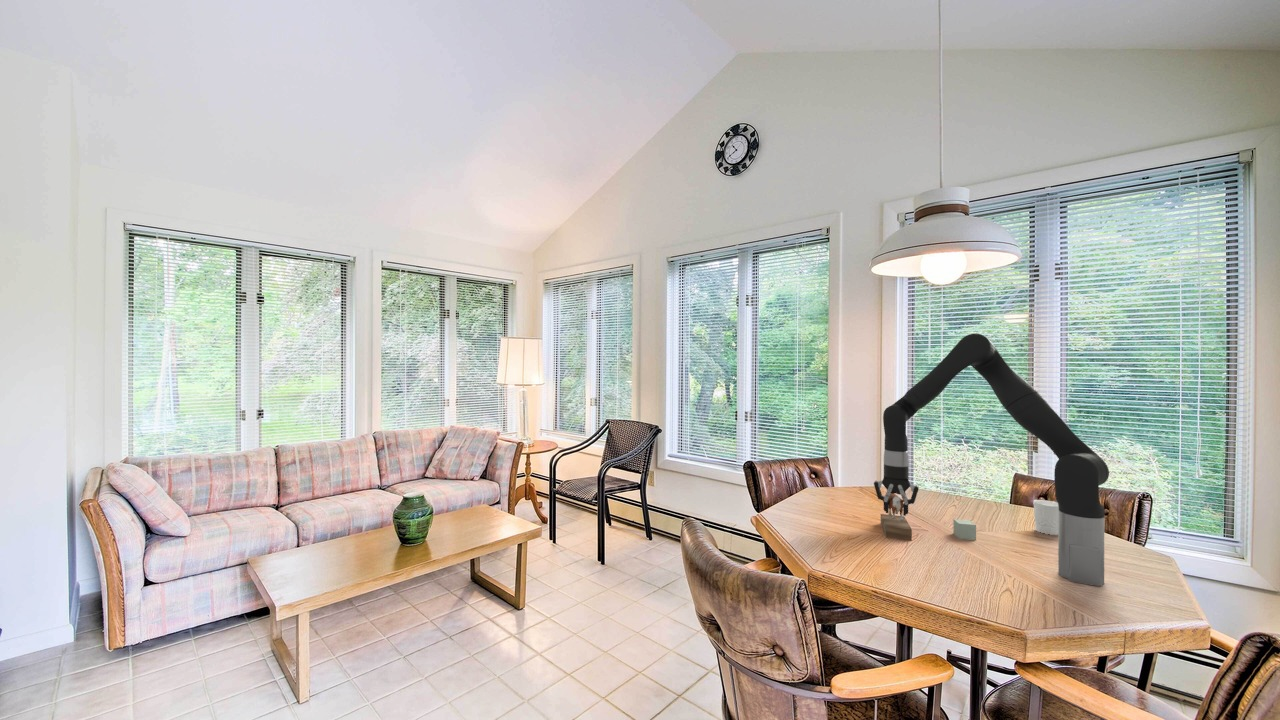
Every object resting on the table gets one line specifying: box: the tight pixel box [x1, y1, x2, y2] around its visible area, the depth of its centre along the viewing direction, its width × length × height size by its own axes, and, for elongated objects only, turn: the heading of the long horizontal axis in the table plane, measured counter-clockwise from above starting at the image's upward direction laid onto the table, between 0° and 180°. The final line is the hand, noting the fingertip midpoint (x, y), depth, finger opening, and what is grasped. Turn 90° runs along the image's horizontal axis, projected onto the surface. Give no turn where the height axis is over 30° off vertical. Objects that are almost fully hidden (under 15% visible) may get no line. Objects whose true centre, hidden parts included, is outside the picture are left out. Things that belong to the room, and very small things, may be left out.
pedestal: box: [880, 513, 913, 542], centre depth 168 cm, size 15×8×4 cm, turn 160°
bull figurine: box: [888, 493, 904, 521], centre depth 168 cm, size 4×13×8 cm, turn 160°
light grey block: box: [1033, 499, 1059, 536], centre depth 170 cm, size 8×8×10 cm
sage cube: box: [952, 518, 977, 541], centre depth 164 cm, size 5×5×5 cm
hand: (895, 513), depth 168 cm, fingers closed on bull figurine, 4 cm apart
